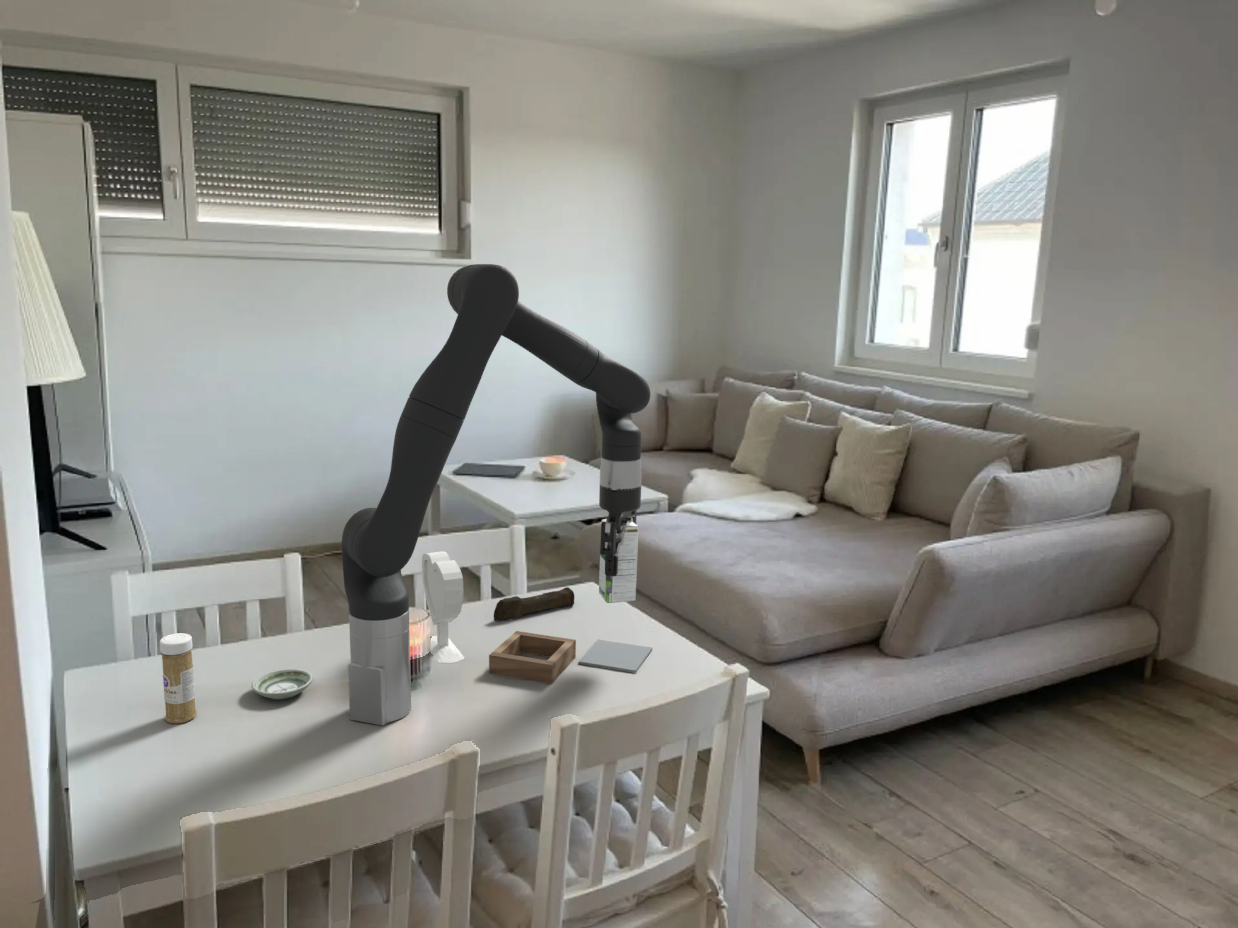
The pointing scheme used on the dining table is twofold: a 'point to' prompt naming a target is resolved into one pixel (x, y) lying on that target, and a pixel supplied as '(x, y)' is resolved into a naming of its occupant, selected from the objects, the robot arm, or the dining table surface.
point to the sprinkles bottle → (178, 677)
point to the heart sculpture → (442, 601)
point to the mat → (616, 656)
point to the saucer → (282, 683)
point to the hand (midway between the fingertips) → (618, 568)
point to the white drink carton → (621, 569)
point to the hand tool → (532, 604)
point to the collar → (531, 668)
